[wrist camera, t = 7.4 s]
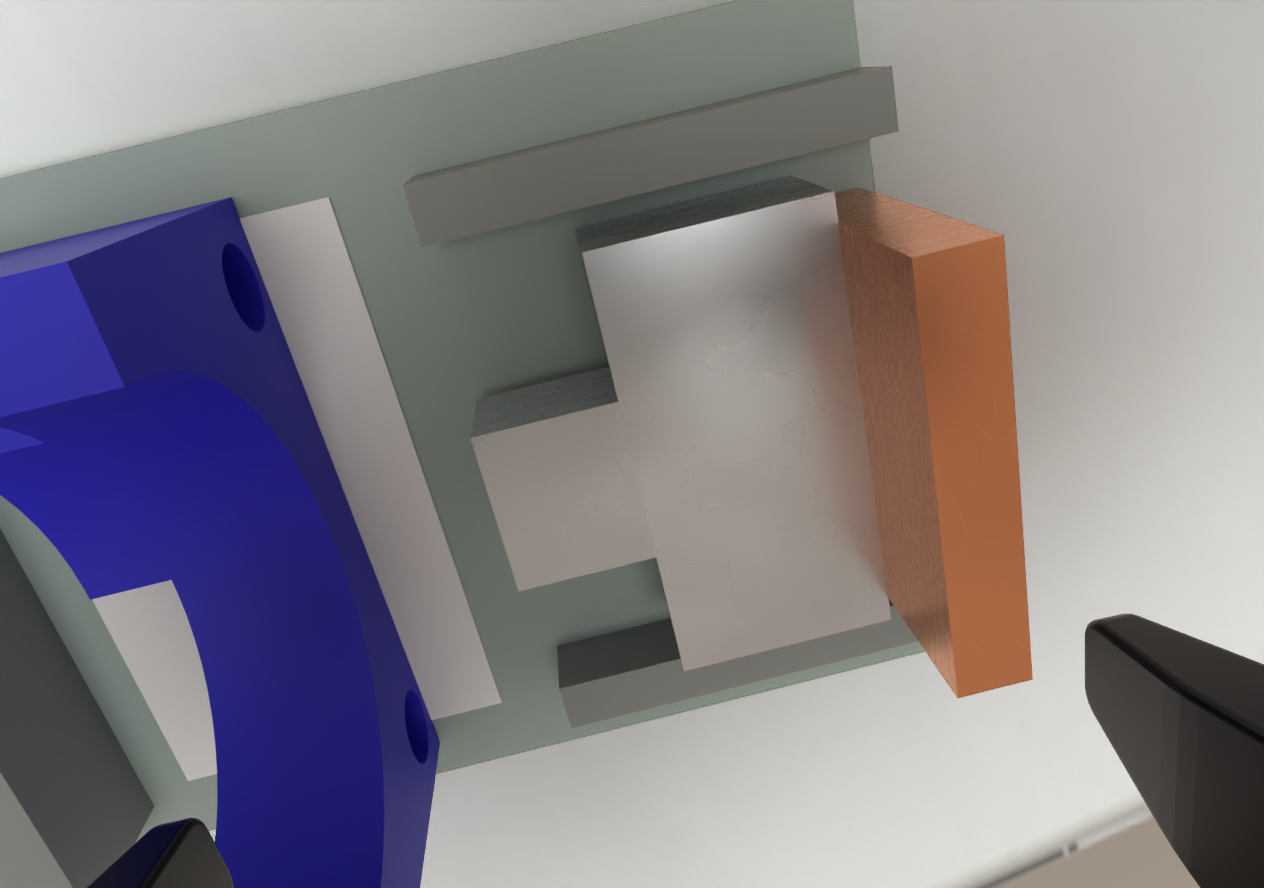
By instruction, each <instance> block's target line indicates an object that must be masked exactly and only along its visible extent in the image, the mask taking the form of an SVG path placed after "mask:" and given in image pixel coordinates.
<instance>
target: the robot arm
mask: <svg viewBox="0 0 1264 888" xmlns="http://www.w3.org/2000/svg"><path fill="white" fill-rule="evenodd" d="M1085 690H1086V695H1087V699H1088V702H1089V705H1090V707H1091V709H1092V711H1093V713H1094V715H1095V717H1096V719H1097V720H1098V722H1099V724H1100V725H1101V727H1102V729H1103V731H1104V732H1105V734H1106V736H1107V737H1108V739H1109V741H1110V743H1111V744H1112V746H1113V748H1114V750H1115V751H1116V753H1117V755H1118V756H1119V758H1120V760H1121V762H1122V763H1123V765H1124V767H1125V768H1126V770H1127V772H1128V774H1129V775H1130V777H1131V779H1132V780H1133V782H1134V784H1135V786H1136V787H1137V789H1138V791H1139V793H1140V794H1141V796H1142V798H1143V799H1144V801H1145V803H1146V805H1147V806H1148V808H1149V810H1150V811H1151V813H1152V815H1153V817H1154V818H1155V820H1156V822H1157V823H1158V825H1159V827H1160V828H1161V830H1162V832H1163V833H1164V835H1165V836H1166V838H1167V840H1168V841H1169V843H1170V845H1171V846H1172V848H1173V849H1174V851H1175V852H1176V854H1177V855H1178V857H1179V858H1180V859H1181V861H1182V862H1183V864H1184V865H1185V867H1186V868H1187V869H1188V871H1189V873H1190V874H1191V875H1192V877H1193V878H1194V879H1195V881H1196V882H1197V883H1198V885H1199V886H1200V888H1264V664H1261V663H1259V662H1256V661H1254V660H1251V659H1248V658H1246V657H1243V656H1241V655H1238V654H1236V653H1233V652H1230V651H1228V650H1225V649H1223V648H1220V647H1217V646H1215V645H1212V644H1210V643H1207V642H1204V641H1202V640H1199V639H1197V638H1194V637H1191V636H1189V635H1186V634H1184V633H1181V632H1179V631H1176V630H1173V629H1171V628H1168V627H1166V626H1163V625H1160V624H1158V623H1155V622H1153V621H1150V620H1147V619H1145V618H1142V617H1140V616H1137V615H1134V614H1120V615H1116V616H1111V617H1107V618H1102V619H1097V620H1094V621H1092V622H1091V623H1089V625H1088V626H1087V628H1086V632H1085ZM87 888H233V881H232V877H231V874H230V872H229V870H228V868H227V866H226V864H225V862H224V860H223V858H222V856H221V854H220V852H219V850H218V848H217V846H216V844H215V842H214V841H213V839H212V837H211V835H210V833H209V831H208V829H207V827H206V826H205V824H204V823H203V822H202V821H201V820H199V819H197V818H186V819H182V820H177V821H172V822H168V823H163V824H160V825H157V826H155V827H153V828H152V829H150V830H149V831H148V832H147V833H146V834H145V835H144V836H143V837H141V838H140V839H139V840H138V841H137V842H136V843H135V844H134V845H133V846H132V847H131V848H129V849H128V850H127V851H126V852H125V853H124V854H123V855H122V856H121V857H120V858H119V859H117V860H116V861H115V862H114V863H113V864H112V865H111V866H110V867H109V868H108V869H107V870H105V871H104V872H103V873H102V874H101V875H100V876H99V877H98V878H97V879H96V880H95V881H93V882H92V883H91V884H90V885H89V886H88V887H87Z"/></svg>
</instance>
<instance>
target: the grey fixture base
mask: <svg viewBox="0 0 1264 888" xmlns="http://www.w3.org/2000/svg"><path fill="white" fill-rule="evenodd" d="M896 131H898V122H897V112H896V103H895V93H894V84H893V74H892V66H890V67H862V68H861V67H860V59H859V50H858V41H857V33H856V24H855V16H854V7H853V0H738V1H733V2H729V3H725V4H721V5H717V6H713V7H709V8H705V9H700V10H696V11H692V12H688V13H684V14H680V15H676V16H671V17H667V18H663V19H659V20H655V21H651V22H647V23H642V24H638V25H634V26H630V27H626V28H622V29H618V30H614V31H609V32H605V33H601V34H597V35H593V36H589V37H585V38H580V39H576V40H572V41H568V42H564V43H560V44H556V45H551V46H547V47H543V48H539V49H535V50H531V51H527V52H523V53H518V54H514V55H510V56H506V57H502V58H498V59H494V60H489V61H485V62H481V63H477V64H473V65H469V66H465V67H460V68H456V69H452V70H448V71H444V72H440V73H436V74H432V75H427V76H423V77H419V78H415V79H411V80H407V81H403V82H398V83H394V84H390V85H386V86H382V87H378V88H374V89H369V90H365V91H361V92H357V93H353V94H349V95H345V96H341V97H336V98H332V99H328V100H324V101H320V102H316V103H312V104H307V105H303V106H299V107H295V108H291V109H287V110H283V111H278V112H274V113H270V114H266V115H262V116H258V117H254V118H250V119H245V120H241V121H237V122H233V123H229V124H225V125H221V126H216V127H212V128H208V129H204V130H200V131H196V132H192V133H187V134H183V135H179V136H175V137H171V138H167V139H163V140H159V141H154V142H150V143H146V144H142V145H138V146H134V147H130V148H125V149H121V150H117V151H113V152H109V153H105V154H101V155H96V156H92V157H88V158H84V159H80V160H76V161H72V162H68V163H63V164H59V165H55V166H51V167H47V168H43V169H39V170H34V171H30V172H26V173H22V174H18V175H14V176H10V177H5V178H1V179H0V253H3V252H7V251H11V250H15V249H19V248H23V247H27V246H32V245H36V244H40V243H44V242H48V241H52V240H56V239H60V238H65V237H69V236H73V235H77V234H81V233H85V232H89V231H94V230H98V229H102V228H106V227H110V226H114V225H118V224H122V223H127V222H131V221H135V220H139V219H143V218H147V217H151V216H156V215H160V214H164V213H168V212H172V211H176V210H180V209H184V208H189V207H193V206H197V205H201V204H205V203H209V202H213V201H218V200H222V199H226V198H230V197H232V199H233V202H234V205H235V207H236V210H237V212H238V215H239V218H240V221H241V224H242V226H243V229H244V232H245V234H246V237H247V240H248V242H249V245H250V247H251V250H252V253H253V255H254V258H255V260H256V263H257V266H258V268H259V271H260V273H261V276H262V279H263V281H264V284H265V287H266V289H267V292H268V294H269V297H270V300H271V302H272V305H273V307H274V310H275V313H276V315H277V318H278V321H279V323H280V326H281V328H282V331H283V334H284V336H285V339H286V341H287V344H288V347H289V349H290V352H291V355H292V357H293V360H294V362H295V365H296V368H297V370H298V373H299V375H300V378H301V381H302V383H303V386H304V389H305V391H306V394H307V396H308V399H309V402H310V404H311V407H312V409H313V412H314V415H315V417H316V420H317V423H318V425H319V428H320V430H321V433H322V436H323V438H324V441H325V443H326V446H327V449H328V451H329V454H330V456H331V459H332V462H333V464H334V467H335V470H336V472H337V475H338V477H339V480H340V483H341V485H342V488H343V490H344V493H345V496H346V498H347V501H348V504H349V506H350V509H351V511H352V514H353V517H354V519H355V522H356V524H357V527H358V530H359V532H360V535H361V538H362V540H363V543H364V545H365V548H366V551H367V553H368V556H369V558H370V561H371V564H372V566H373V569H374V572H375V574H376V577H377V579H378V582H379V585H380V587H381V590H382V592H383V595H384V598H385V600H386V603H387V605H388V608H389V611H390V613H391V616H392V619H393V621H394V624H395V626H396V629H397V632H398V634H399V637H400V639H401V642H402V645H403V647H404V650H405V653H406V655H407V658H408V660H409V663H410V666H411V668H412V671H413V673H414V676H415V679H416V681H417V684H418V687H419V689H420V692H421V694H422V697H423V700H424V702H425V705H426V707H427V710H428V713H429V715H430V718H431V720H432V723H433V725H434V728H435V730H436V733H437V736H438V738H439V741H440V747H439V754H438V761H437V768H436V774H437V773H441V772H445V771H449V770H453V769H457V768H461V767H465V766H469V765H473V764H477V763H481V762H485V761H489V760H493V759H497V758H501V757H505V756H509V755H513V754H517V753H521V752H525V751H529V750H533V749H537V748H541V747H545V746H549V745H553V744H557V743H561V742H565V741H569V740H573V739H577V738H581V737H585V736H589V735H593V734H597V733H601V732H605V731H609V730H613V729H617V728H621V727H625V726H629V725H633V724H637V723H641V722H645V721H649V720H653V719H657V718H661V717H665V716H669V715H673V714H677V713H681V712H685V711H689V710H693V709H697V708H701V707H705V706H709V705H713V704H717V703H721V702H725V701H729V700H733V699H737V698H741V697H745V696H749V695H753V694H757V693H761V692H765V691H769V690H773V689H777V688H781V687H785V686H789V685H793V684H797V683H801V682H805V681H809V680H813V679H817V678H821V677H825V676H829V675H833V674H837V673H841V672H845V671H849V670H853V669H857V668H861V667H865V666H869V665H873V664H877V663H881V662H885V661H889V660H893V659H897V658H901V657H905V656H909V655H913V654H917V653H921V652H925V650H924V648H923V647H922V646H921V644H920V643H919V641H918V640H917V638H916V637H915V635H914V634H913V632H912V631H911V630H910V628H909V627H908V625H907V624H906V622H905V621H904V619H903V618H902V617H901V615H900V614H899V612H898V611H897V609H896V608H895V606H894V605H893V603H892V602H891V601H890V599H889V598H888V599H889V606H890V614H891V620H888V621H884V622H880V623H876V624H872V625H868V626H864V627H860V628H856V629H852V630H848V631H844V632H840V633H836V634H832V635H828V636H824V637H820V638H816V639H812V640H808V641H804V642H800V643H796V644H792V645H788V646H784V647H780V648H776V649H772V650H768V651H764V652H760V653H756V654H752V655H748V656H744V657H740V658H736V659H732V660H728V661H724V662H720V663H716V664H712V665H708V666H704V667H700V668H696V669H692V670H688V671H684V669H683V665H682V661H681V657H680V653H679V650H678V646H677V642H676V638H675V634H674V630H673V626H672V622H671V618H670V615H669V611H668V607H667V603H666V599H665V595H664V591H663V587H662V582H661V578H660V574H659V570H658V566H657V562H656V558H652V559H648V560H644V561H640V562H636V563H632V564H628V565H624V566H620V567H616V568H612V569H608V570H604V571H599V572H595V573H591V574H587V575H583V576H579V577H575V578H571V579H567V580H563V581H559V582H555V583H551V584H547V585H543V586H539V587H535V588H531V589H527V590H523V591H518V588H517V585H516V582H515V578H514V575H513V572H512V569H511V566H510V563H509V559H508V556H507V553H506V550H505V547H504V544H503V540H502V537H501V534H500V531H499V528H498V525H497V521H496V518H495V515H494V512H493V509H492V506H491V502H490V499H489V496H488V493H487V490H486V487H485V483H484V480H483V477H482V474H481V471H480V468H479V464H478V461H477V458H476V455H475V452H474V449H473V445H472V442H471V439H470V436H471V431H472V425H473V419H474V413H475V407H476V401H477V399H478V398H482V397H487V396H491V395H495V394H499V393H503V392H507V391H511V390H515V389H519V388H523V387H527V386H531V385H535V384H539V383H543V382H548V381H552V380H556V379H560V378H564V377H568V376H572V375H576V374H580V373H584V372H588V371H592V370H596V369H600V368H605V367H609V365H608V361H607V357H606V353H605V349H604V345H603V341H602V337H601V333H600V328H599V324H598V320H597V316H596V312H595V308H594V304H593V300H592V296H591V292H590V287H589V283H588V279H587V275H586V271H585V267H584V263H583V259H582V255H581V251H580V247H579V242H578V238H577V234H576V230H575V228H578V227H582V226H586V225H590V224H594V223H599V222H603V221H607V220H611V219H615V218H619V217H623V216H627V215H631V214H635V213H639V212H644V211H648V210H652V209H656V208H660V207H664V206H668V205H672V204H676V203H680V202H685V201H689V200H693V199H697V198H701V197H705V196H709V195H713V194H717V193H721V192H726V191H730V190H734V189H738V188H742V187H746V186H750V185H754V184H758V183H762V182H767V181H771V180H775V179H779V178H783V177H787V176H791V175H792V176H795V177H797V178H800V179H803V180H806V181H808V182H811V183H814V184H816V185H819V186H822V187H825V188H827V189H830V190H833V191H834V194H836V193H840V192H844V191H848V190H852V189H856V188H863V189H866V190H869V191H872V192H875V187H874V179H873V170H872V161H871V153H870V144H869V138H872V137H876V136H880V135H884V134H888V133H892V132H896ZM186 818H197V819H199V820H201V821H202V822H203V823H204V824H205V826H206V827H207V829H208V831H210V830H214V829H216V821H217V763H216V747H215V737H214V728H213V720H212V713H211V707H210V701H209V695H208V690H207V685H206V681H205V676H204V672H203V667H202V663H201V660H200V656H199V653H198V649H197V645H196V642H195V639H194V636H193V633H192V630H191V627H190V624H189V621H188V618H187V615H186V613H185V610H184V608H183V605H182V603H181V601H180V598H179V596H178V593H177V591H176V589H175V587H174V584H173V582H172V580H169V581H165V582H161V583H157V584H153V585H149V586H145V587H141V588H136V589H132V590H128V591H124V592H120V593H116V594H112V595H108V596H104V597H100V598H96V599H92V600H90V599H89V597H88V595H87V594H86V592H85V590H84V588H83V587H82V585H81V583H80V582H79V580H78V579H77V577H76V576H75V574H74V572H73V571H72V569H71V568H70V566H69V565H68V564H67V562H66V561H65V559H64V558H63V557H62V555H61V554H60V553H59V551H58V550H57V549H56V547H55V546H54V545H53V544H52V543H51V542H50V541H49V539H48V538H47V537H46V536H45V535H44V534H43V533H42V532H41V530H40V529H39V528H38V527H37V526H36V525H35V524H34V523H33V522H32V521H30V520H29V519H28V518H27V517H26V516H25V515H24V514H23V513H22V512H21V511H20V510H19V509H17V508H16V507H15V506H14V505H12V504H11V503H10V502H8V501H7V500H6V499H5V498H3V497H2V496H1V495H0V888H87V887H88V886H89V885H90V884H91V883H92V882H93V881H95V880H96V879H97V878H98V877H99V876H100V875H101V874H102V873H103V872H104V871H105V870H107V869H108V868H109V867H110V866H111V865H112V864H113V863H114V862H115V861H116V860H117V859H119V858H120V857H121V856H122V855H123V854H124V853H125V852H126V851H127V850H128V849H129V848H131V847H132V846H133V845H134V844H135V843H136V842H137V841H138V840H139V839H140V838H141V837H143V836H144V835H145V834H146V833H147V832H148V831H149V830H150V829H152V828H153V827H155V826H157V825H160V824H163V823H168V822H172V821H177V820H182V819H186Z"/></svg>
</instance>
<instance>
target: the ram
mask: <svg viewBox="0 0 1264 888" xmlns="http://www.w3.org/2000/svg"><path fill="white" fill-rule="evenodd" d="M575 230H576V234H577V238H578V242H579V247H580V251H581V255H582V259H583V263H584V267H585V271H586V275H587V279H588V283H589V287H590V292H591V296H592V300H593V304H594V308H595V312H596V316H597V320H598V324H599V328H600V333H601V337H602V341H603V345H604V349H605V353H606V357H607V361H608V365H609V367H605V368H600V369H596V370H592V371H588V372H584V373H580V374H576V375H572V376H568V377H564V378H560V379H556V380H552V381H548V382H543V383H539V384H535V385H531V386H527V387H523V388H519V389H515V390H511V391H507V392H503V393H499V394H495V395H491V396H487V397H482V398H478V399H477V401H476V407H475V413H474V419H473V425H472V431H471V436H470V439H471V442H472V445H473V449H474V452H475V455H476V458H477V461H478V464H479V468H480V471H481V474H482V477H483V480H484V483H485V487H486V490H487V493H488V496H489V499H490V502H491V506H492V509H493V512H494V515H495V518H496V521H497V525H498V528H499V531H500V534H501V537H502V540H503V544H504V547H505V550H506V553H507V556H508V559H509V563H510V566H511V569H512V572H513V575H514V578H515V582H516V585H517V588H518V591H523V590H527V589H531V588H535V587H539V586H543V585H547V584H551V583H555V582H559V581H563V580H567V579H571V578H575V577H579V576H583V575H587V574H591V573H595V572H599V571H604V570H608V569H612V568H616V567H620V566H624V565H628V564H632V563H636V562H640V561H644V560H648V559H652V558H656V562H657V566H658V570H659V574H660V578H661V582H662V587H663V591H664V595H665V599H666V603H667V607H668V611H669V615H670V618H671V622H672V626H673V630H674V634H675V638H676V642H677V646H678V650H679V653H680V657H681V661H682V665H683V669H684V671H688V670H692V669H696V668H700V667H704V666H708V665H712V664H716V663H720V662H724V661H728V660H732V659H736V658H740V657H744V656H748V655H752V654H756V653H760V652H764V651H768V650H772V649H776V648H780V647H784V646H788V645H792V644H796V643H800V642H804V641H808V640H812V639H816V638H820V637H824V636H828V635H832V634H836V633H840V632H844V631H848V630H852V629H856V628H860V627H864V626H868V625H872V624H876V623H880V622H884V621H888V620H891V614H890V606H889V599H890V601H891V602H892V603H893V605H894V606H895V608H896V609H897V611H898V612H899V614H900V615H901V617H902V618H903V619H904V621H905V622H906V624H907V625H908V627H909V628H910V630H911V631H912V632H913V634H914V635H915V637H916V638H917V640H918V641H919V643H920V644H921V646H922V647H923V648H924V650H925V651H926V653H927V654H928V656H929V657H930V659H931V660H932V662H933V663H934V664H935V666H936V667H937V669H938V670H939V672H940V673H941V675H942V676H943V678H944V679H945V680H946V682H947V683H948V685H949V686H950V688H951V689H952V691H953V692H954V694H955V695H956V696H957V698H961V697H965V696H969V695H973V694H977V693H981V692H985V691H989V690H992V689H996V688H1000V687H1004V686H1008V685H1012V684H1016V683H1020V682H1024V681H1028V680H1032V664H1031V649H1030V633H1029V618H1028V602H1027V587H1026V571H1025V556H1024V540H1023V525H1022V509H1021V494H1020V478H1019V463H1018V447H1017V432H1016V416H1015V401H1014V385H1013V370H1012V354H1011V339H1010V323H1009V308H1008V292H1007V277H1006V261H1005V246H1004V235H1002V234H999V233H996V232H993V231H990V230H987V229H984V228H981V227H978V226H975V225H972V224H969V223H966V222H963V221H960V220H957V219H954V218H951V217H948V216H945V215H942V214H939V213H936V212H932V211H929V210H926V209H923V208H920V207H917V206H914V205H911V204H908V203H905V202H902V201H899V200H896V199H893V198H890V197H887V196H884V195H881V194H878V193H875V192H872V191H869V190H866V189H863V188H856V189H852V190H848V191H844V192H840V193H836V194H834V191H833V190H830V189H827V188H825V187H822V186H819V185H816V184H814V183H811V182H808V181H806V180H803V179H800V178H797V177H795V176H792V175H791V176H787V177H783V178H779V179H775V180H771V181H767V182H762V183H758V184H754V185H750V186H746V187H742V188H738V189H734V190H730V191H726V192H721V193H717V194H713V195H709V196H705V197H701V198H697V199H693V200H689V201H685V202H680V203H676V204H672V205H668V206H664V207H660V208H656V209H652V210H648V211H644V212H639V213H635V214H631V215H627V216H623V217H619V218H615V219H611V220H607V221H603V222H599V223H594V224H590V225H586V226H582V227H578V228H575ZM888 598H889V599H888Z"/></svg>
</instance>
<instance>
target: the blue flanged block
mask: <svg viewBox="0 0 1264 888" xmlns="http://www.w3.org/2000/svg"><path fill="white" fill-rule="evenodd" d="M0 495H1V496H2V497H3V498H5V499H6V500H7V501H8V502H10V503H11V504H12V505H14V506H15V507H16V508H17V509H19V510H20V511H21V512H22V513H23V514H24V515H25V516H26V517H27V518H28V519H29V520H30V521H32V522H33V523H34V524H35V525H36V526H37V527H38V528H39V529H40V530H41V532H42V533H43V534H44V535H45V536H46V537H47V538H48V539H49V541H50V542H51V543H52V544H53V545H54V546H55V547H56V549H57V550H58V551H59V553H60V554H61V555H62V557H63V558H64V559H65V561H66V562H67V564H68V565H69V566H70V568H71V569H72V571H73V572H74V574H75V576H76V577H77V579H78V580H79V582H80V583H81V585H82V587H83V588H84V590H85V592H86V594H87V595H88V597H89V599H90V600H92V599H96V598H100V597H104V596H108V595H112V594H116V593H120V592H124V591H128V590H132V589H136V588H141V587H145V586H149V585H153V584H157V583H161V582H165V581H169V580H172V582H173V584H174V587H175V589H176V591H177V593H178V596H179V598H180V601H181V603H182V605H183V608H184V610H185V613H186V615H187V618H188V621H189V624H190V627H191V630H192V633H193V636H194V639H195V642H196V645H197V649H198V653H199V656H200V660H201V663H202V667H203V672H204V676H205V681H206V685H207V690H208V695H209V701H210V707H211V713H212V720H213V728H214V737H215V747H216V763H217V821H216V836H215V844H216V846H217V848H218V850H219V852H220V854H221V856H222V858H223V860H224V862H225V864H226V866H227V868H228V870H229V872H230V874H231V877H232V881H233V888H420V883H421V875H422V868H423V861H424V854H425V847H426V840H427V832H428V825H429V818H430V811H431V804H432V797H433V790H434V782H435V775H436V768H437V761H438V754H439V747H440V741H439V738H438V736H437V733H436V730H435V728H434V725H433V723H432V720H431V718H430V715H429V713H428V710H427V707H426V705H425V702H424V700H423V697H422V694H421V692H420V689H419V687H418V684H417V681H416V679H415V676H414V673H413V671H412V668H411V666H410V663H409V660H408V658H407V655H406V653H405V650H404V647H403V645H402V642H401V639H400V637H399V634H398V632H397V629H396V626H395V624H394V621H393V619H392V616H391V613H390V611H389V608H388V605H387V603H386V600H385V598H384V595H383V592H382V590H381V587H380V585H379V582H378V579H377V577H376V574H375V572H374V569H373V566H372V564H371V561H370V558H369V556H368V553H367V551H366V548H365V545H364V543H363V540H362V538H361V535H360V532H359V530H358V527H357V524H356V522H355V519H354V517H353V514H352V511H351V509H350V506H349V504H348V501H347V498H346V496H345V493H344V490H343V488H342V485H341V483H340V480H339V477H338V475H337V472H336V470H335V467H334V464H333V462H332V459H331V456H330V454H329V451H328V449H327V446H326V443H325V441H324V438H323V436H322V433H321V430H320V428H319V425H318V423H317V420H316V417H315V415H314V412H313V409H312V407H311V404H310V402H309V399H308V396H307V394H306V391H305V389H304V386H303V383H302V381H301V378H300V375H299V373H298V370H297V368H296V365H295V362H294V360H293V357H292V355H291V352H290V349H289V347H288V344H287V341H286V339H285V336H284V334H283V331H282V328H281V326H280V323H279V321H278V318H277V315H276V313H275V310H274V307H273V305H272V302H271V300H270V297H269V294H268V292H267V289H266V287H265V284H264V281H263V279H262V276H261V273H260V271H259V268H258V266H257V263H256V260H255V258H254V255H253V253H252V250H251V247H250V245H249V242H248V240H247V237H246V234H245V232H244V229H243V226H242V224H241V221H240V218H239V215H238V212H237V210H236V207H235V205H234V202H233V199H232V197H230V198H226V199H222V200H218V201H213V202H209V203H205V204H201V205H197V206H193V207H189V208H184V209H180V210H176V211H172V212H168V213H164V214H160V215H156V216H151V217H147V218H143V219H139V220H135V221H131V222H127V223H122V224H118V225H114V226H110V227H106V228H102V229H98V230H94V231H89V232H85V233H81V234H77V235H73V236H69V237H65V238H60V239H56V240H52V241H48V242H44V243H40V244H36V245H32V246H27V247H23V248H19V249H15V250H11V251H7V252H3V253H0Z"/></svg>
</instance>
